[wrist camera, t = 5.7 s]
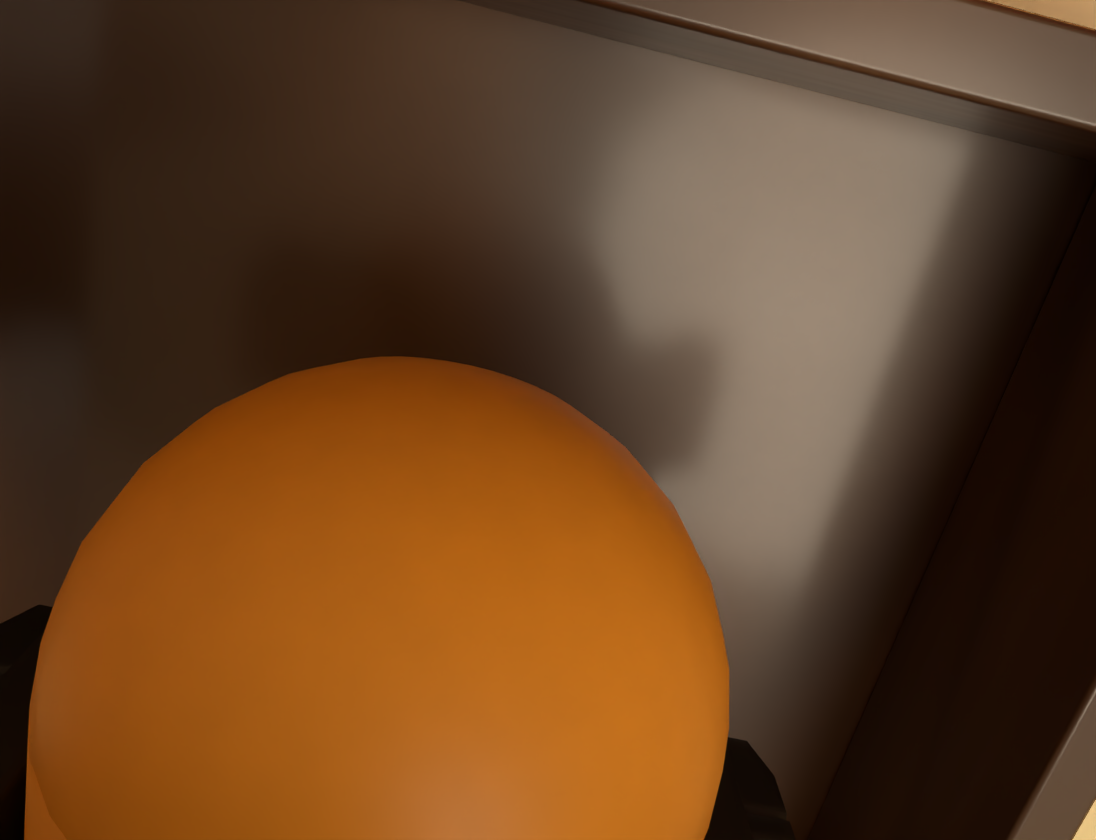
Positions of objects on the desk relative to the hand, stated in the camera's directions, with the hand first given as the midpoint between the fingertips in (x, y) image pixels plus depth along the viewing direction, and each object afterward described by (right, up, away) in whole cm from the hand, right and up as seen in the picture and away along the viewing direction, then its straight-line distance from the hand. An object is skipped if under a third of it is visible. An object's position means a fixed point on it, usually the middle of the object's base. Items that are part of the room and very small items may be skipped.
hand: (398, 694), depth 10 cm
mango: (0, 0, 0) cm, 1 cm away
